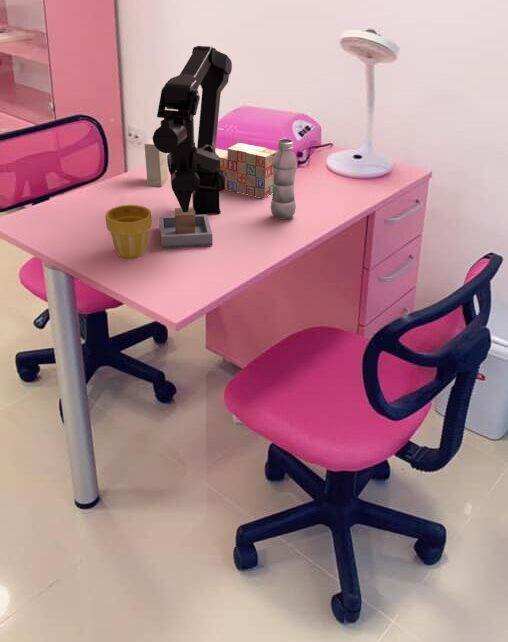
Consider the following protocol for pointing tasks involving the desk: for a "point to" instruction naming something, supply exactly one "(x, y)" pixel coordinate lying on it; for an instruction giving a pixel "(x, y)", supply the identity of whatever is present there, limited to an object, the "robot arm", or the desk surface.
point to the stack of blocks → (247, 169)
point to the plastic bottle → (284, 180)
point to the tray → (185, 240)
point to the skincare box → (155, 165)
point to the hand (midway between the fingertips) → (183, 204)
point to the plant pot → (129, 229)
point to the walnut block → (185, 221)
